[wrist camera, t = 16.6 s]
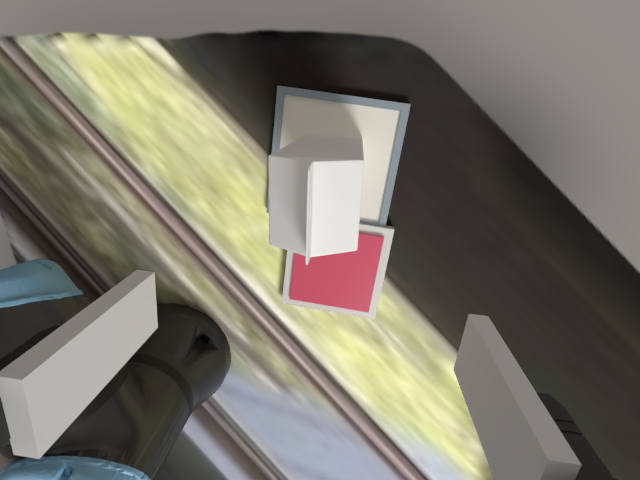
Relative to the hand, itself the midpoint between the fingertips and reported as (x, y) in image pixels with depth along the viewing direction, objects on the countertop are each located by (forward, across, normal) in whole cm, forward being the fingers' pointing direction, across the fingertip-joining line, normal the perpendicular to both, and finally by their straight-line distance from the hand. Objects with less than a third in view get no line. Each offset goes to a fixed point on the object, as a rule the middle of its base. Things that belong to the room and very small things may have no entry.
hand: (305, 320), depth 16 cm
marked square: (+29, -1, +3) cm, 29 cm away
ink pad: (+29, +1, -10) cm, 31 cm away
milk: (+29, -1, +2) cm, 29 cm away
